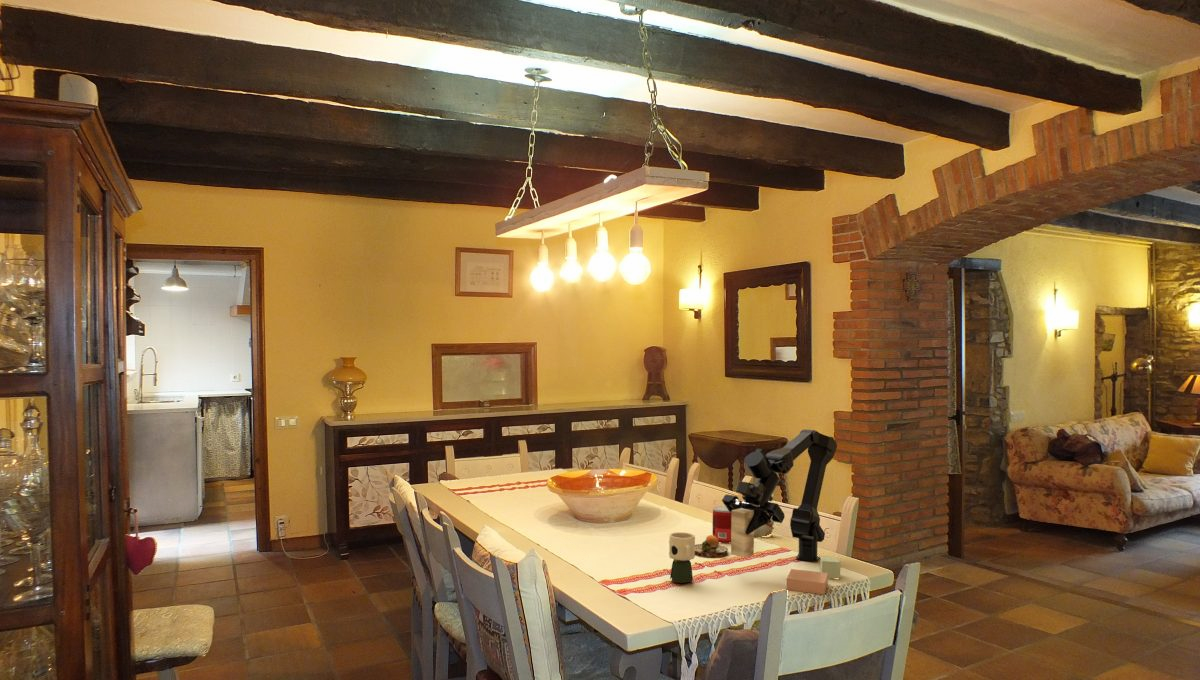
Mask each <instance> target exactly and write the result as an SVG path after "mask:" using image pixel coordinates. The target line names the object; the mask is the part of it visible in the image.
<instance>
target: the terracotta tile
mask: <svg viewBox="0 0 1200 680" xmlns="http://www.w3.org/2000/svg"><path fill="white" fill-rule="evenodd" d="M828 584H829V579H828V573H822V572H819V571H812V570H811V571H810V570H802V569H796V568H795V569H794V568H791V569H790V570H789V572H788V575H787V577H786V586H785V587H786V589H788V591H795V592H804V593H811V594H818V595H819V594H820V595H826V592H827V589H826V588H828Z"/></svg>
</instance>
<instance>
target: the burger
mask: <svg viewBox="0 0 1200 680" xmlns="http://www.w3.org/2000/svg"><path fill="white" fill-rule="evenodd" d="M715 535H716V534H715ZM728 550H729V548H728V547H726V546H724V545H720V543H719V541H718V539H717V538H716V537H715V536H713V534H710V535H707V536H706V538H705V540H704V541H703V542H701V543H697V544H695V556H698V557H699V554H700V556H701V557H703V558H707V559H708V558H709V557H714V558H721V557H722V558H723V557H726V556H727V557H728V555H729V552H728Z"/></svg>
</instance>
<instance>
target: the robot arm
mask: <svg viewBox="0 0 1200 680" xmlns="http://www.w3.org/2000/svg"><path fill="white" fill-rule="evenodd" d="M837 449H838V443H837V441H836V440H835V438H834V437H833V436H828V435H825V434H823V433H820V432H819V431H817V430H814V429H805V428H804V429H802V430H800V431H799V434H797V435H796V436H795V437H794V438H792V439H791V440H790V441H789V442H788V443H787V444H785V445H784V446H783V447H782V448H781V447H780V448H777V449H773V450H771V451H770V452H769V451H768V452H767V453H766V454H765V451H764V450H763V449H761V448H756V450H755V451H752V452H750V453H748V455H746V456H745V457H744V459H743V462H744V464H745V466H746V468H747V469H748V471H749V472H750V474H751V475H752V477H754V478H755V479H756V480H755V482H754V483H751V482H747V481H741V480H739V481H738V483H737V485H736V490H735V493H739V494H740V495H741V498H742V499H743V500H744V501H742V500H740V499H739V497H738V495H733V494H725V495H724V496H723V498H722V500H721V502H722V503H723V505H724V506H726V507H727V509H728V510H729V511H730V512H731V513H732V510H735V509H740V508H743V509H748V510H753V511H754V516H753V518H752V519H751V521H750V523H749V525H748V527H747V529H746V534H747V535H748V534H750V533H751V532H753V531H755V530H756V529H758V528H759V527H761V526H763V525H765V524H767V523H771V520H770V519H771V517H772V520H773V521H774V523H779V524H782V523H783V521H784V520H785V517H786V516H785V512H784V511H783V509H782V508H781V506H780V505H779V504H778V503H776V502H772V501H773V497H772V495H773V494H774V492H775V490H776V488H777V487H782V486H783V482H782V478H781V476H779V475H778V474H783V475H787V474H788V473H789V472H790V471H791V469H792V468H793V467H794V461H795V460H796V459H797V458H798V457H799V456H800V455H802V454H803V453H804V452H805V451H806V450H807V453H808V457H809V459H810V461H809V462H810V463H809V468H808V472H807V477H806V479H805V480H806V481H805V485H804V490H803V494H802V499H801V504H800V505H799V506H798V507H797V508H796V507H794V508H793V509H792V514H791V517H790V519H789V523H790V524H789V526H790V531H791V535H792V536H791V537H792V538H795V539H798V553H797V555H796V558H795V559H796V560H797V561H806V562H807V561H808V562H814V561H818V562H819V560H818V559H820V556H819V557H818V556H817V555H818V544H819V543H822V542H823V541H824V540H825V535H826V533H825V532H824V531H825V530H823V528H822V527H821V525H820V522H821V518H820V514H819V511H818V505H819V501H820V496H821V492H822V487H823V482H824V477H825V474H826V473H825V472H826V469H827V465H828V464H830V462H831V461H832V460H833V459H834V457H835V453H836V450H837ZM818 542H819V543H818Z"/></svg>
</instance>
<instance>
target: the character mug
mask: <svg viewBox="0 0 1200 680" xmlns="http://www.w3.org/2000/svg"><path fill="white" fill-rule="evenodd" d="M668 543H669V549H668V550H669V551H668V556H669V558H670V559H672V560H673V561H672V564H671V569H670V576H669V577H670V578H669V579H670V581H671V582H674V583H678V584H685V583H688V582H692V581H693V580H694V578H693V567H692V563H691V560H694V559H695V556H696V555H695V545H696V535H695V534H693V533H691V532H690V533H689V532H681V531H679V532H671V533H670V534H669V540H668Z"/></svg>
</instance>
